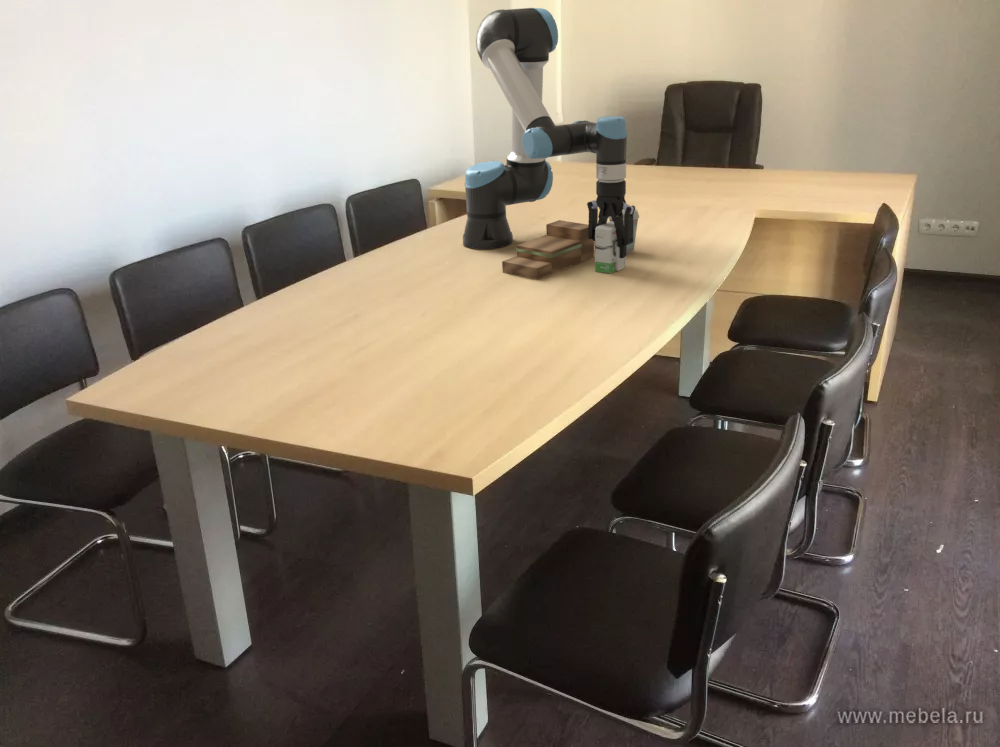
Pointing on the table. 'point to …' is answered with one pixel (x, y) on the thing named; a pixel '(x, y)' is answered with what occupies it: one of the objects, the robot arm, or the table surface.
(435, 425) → the table surface
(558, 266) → the stand
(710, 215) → the table surface
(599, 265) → the ink box
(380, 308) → the table surface
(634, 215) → the coffee cup
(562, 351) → the table surface
